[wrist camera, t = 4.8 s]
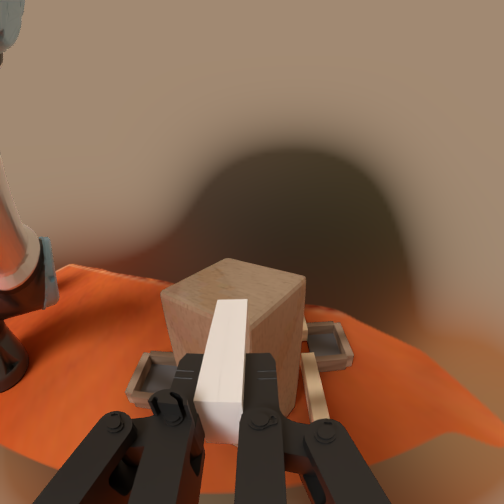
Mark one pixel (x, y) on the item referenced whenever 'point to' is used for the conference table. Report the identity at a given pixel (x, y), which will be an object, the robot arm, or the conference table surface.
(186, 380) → the robot arm
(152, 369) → the tray
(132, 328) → the conference table surface
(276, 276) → the wooden block
